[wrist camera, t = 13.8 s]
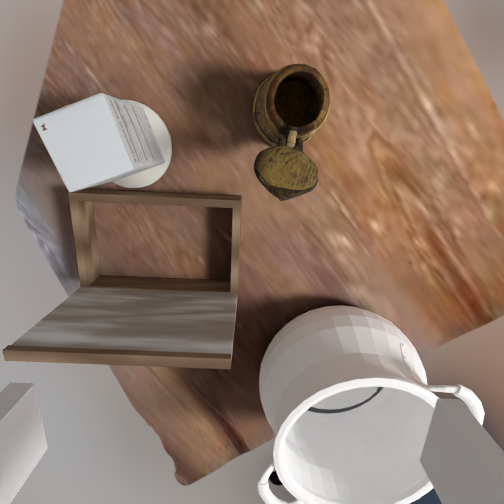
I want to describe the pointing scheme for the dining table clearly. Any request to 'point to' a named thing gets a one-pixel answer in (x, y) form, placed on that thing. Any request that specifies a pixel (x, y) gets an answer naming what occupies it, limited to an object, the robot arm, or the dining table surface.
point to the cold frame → (137, 303)
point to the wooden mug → (289, 128)
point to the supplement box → (98, 141)
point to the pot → (348, 410)
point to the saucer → (164, 144)
